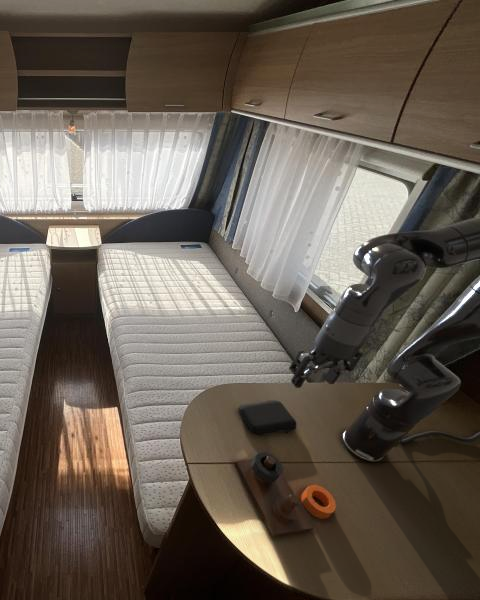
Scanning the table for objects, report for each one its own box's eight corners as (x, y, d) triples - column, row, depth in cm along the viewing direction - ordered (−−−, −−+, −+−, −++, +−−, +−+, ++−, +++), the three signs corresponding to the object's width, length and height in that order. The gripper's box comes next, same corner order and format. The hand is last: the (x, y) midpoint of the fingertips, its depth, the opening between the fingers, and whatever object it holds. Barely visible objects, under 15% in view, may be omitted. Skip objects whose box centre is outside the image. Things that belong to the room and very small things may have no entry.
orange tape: (318, 489, 85) (323, 483, 83) (336, 516, 80) (342, 510, 78) (295, 492, 84) (300, 487, 82) (312, 520, 79) (318, 514, 77)
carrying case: (254, 441, 95) (300, 433, 97) (257, 435, 93) (304, 427, 95) (233, 410, 104) (276, 403, 106) (236, 403, 102) (280, 396, 104)
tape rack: (268, 459, 91) (279, 442, 86) (312, 530, 77) (327, 515, 72) (234, 464, 90) (243, 447, 85) (271, 537, 76) (285, 522, 71)
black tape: (268, 456, 88) (272, 450, 86) (283, 480, 83) (288, 474, 81) (246, 459, 87) (250, 453, 85) (260, 483, 82) (264, 477, 80)
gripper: (326, 347, 66) (294, 399, 75) (390, 341, 67) (351, 392, 77) (300, 323, 72) (274, 374, 81) (360, 317, 73) (327, 368, 83)
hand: (312, 383), depth 79 cm, fingers open, 8 cm apart
